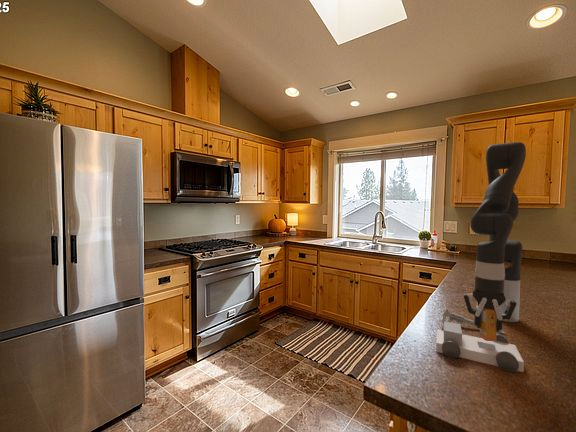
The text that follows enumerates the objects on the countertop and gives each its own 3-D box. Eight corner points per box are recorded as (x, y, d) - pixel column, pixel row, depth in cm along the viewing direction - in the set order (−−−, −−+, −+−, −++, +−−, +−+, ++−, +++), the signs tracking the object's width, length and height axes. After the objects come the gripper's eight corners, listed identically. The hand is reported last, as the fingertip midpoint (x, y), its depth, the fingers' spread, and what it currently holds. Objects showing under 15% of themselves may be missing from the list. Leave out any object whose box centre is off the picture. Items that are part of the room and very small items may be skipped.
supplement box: (488, 336, 88) (489, 305, 88) (496, 341, 85) (498, 310, 84) (478, 336, 88) (479, 305, 87) (486, 341, 85) (487, 310, 84)
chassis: (436, 335, 100) (437, 316, 100) (512, 351, 89) (513, 330, 89) (436, 354, 87) (436, 333, 87) (525, 376, 76) (526, 351, 76)
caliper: (442, 323, 110) (443, 308, 110) (442, 322, 111) (443, 307, 111) (505, 335, 101) (506, 318, 100) (505, 334, 102) (505, 317, 101)
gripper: (515, 275, 85) (513, 329, 86) (461, 270, 92) (460, 319, 93) (521, 281, 79) (519, 339, 79) (463, 275, 86) (461, 328, 86)
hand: (487, 328), depth 86 cm, fingers closed on supplement box, 4 cm apart
